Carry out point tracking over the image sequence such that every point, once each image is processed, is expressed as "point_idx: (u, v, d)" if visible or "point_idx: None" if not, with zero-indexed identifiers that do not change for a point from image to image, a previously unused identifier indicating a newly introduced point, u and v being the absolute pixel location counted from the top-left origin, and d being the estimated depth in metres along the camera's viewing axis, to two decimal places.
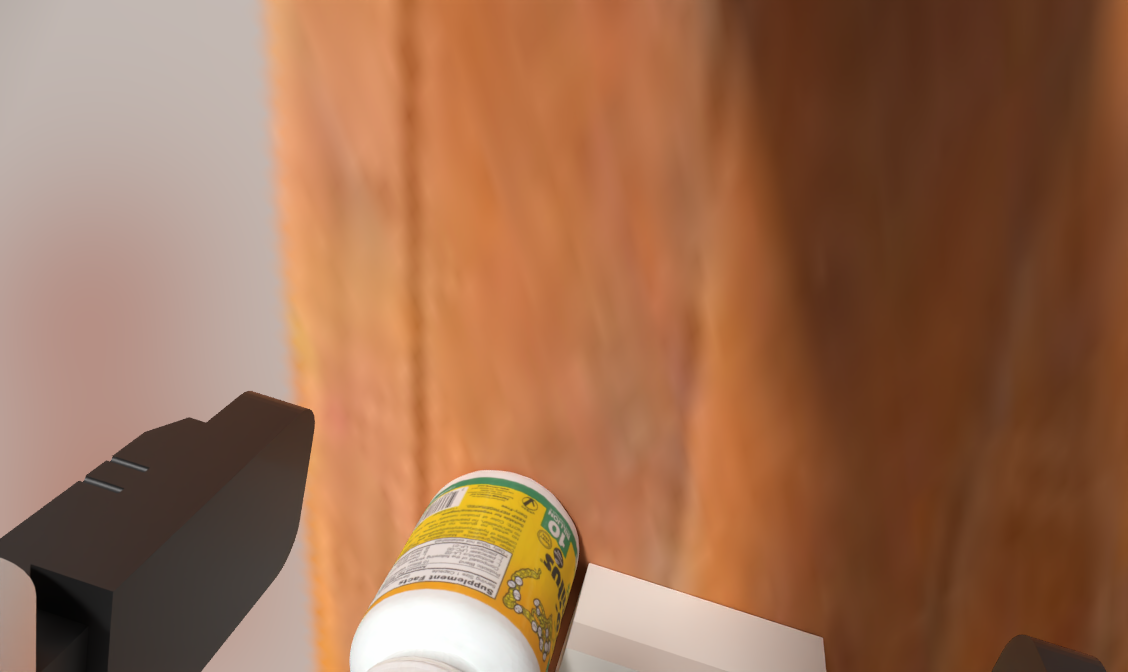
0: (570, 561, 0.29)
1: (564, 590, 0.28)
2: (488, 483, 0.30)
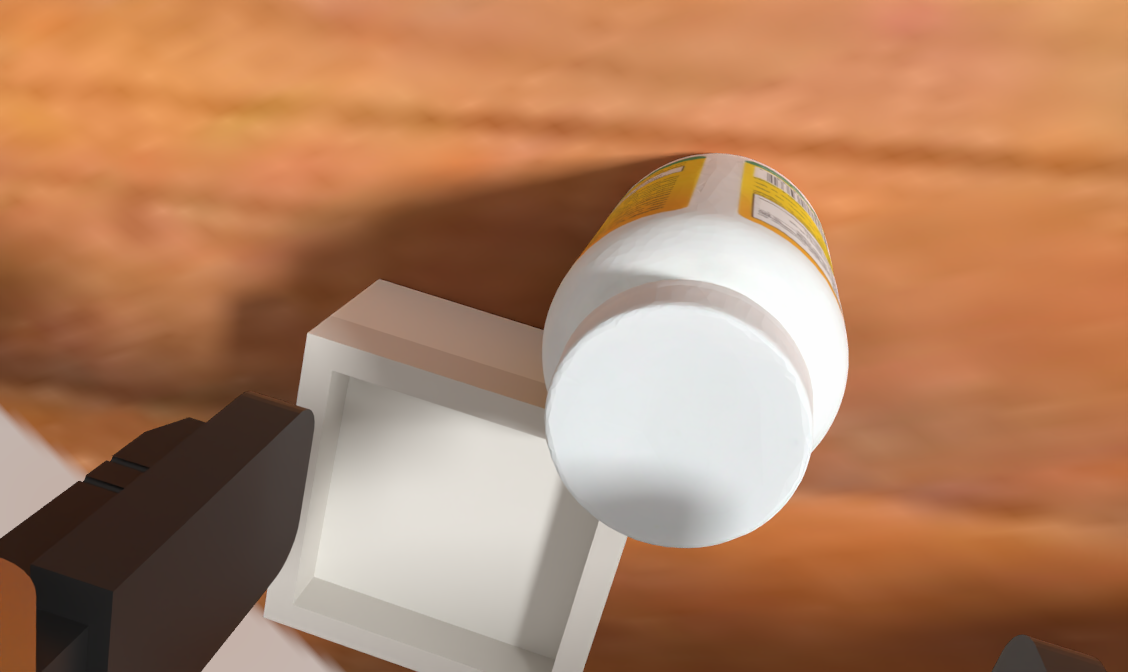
0: None
1: None
2: None
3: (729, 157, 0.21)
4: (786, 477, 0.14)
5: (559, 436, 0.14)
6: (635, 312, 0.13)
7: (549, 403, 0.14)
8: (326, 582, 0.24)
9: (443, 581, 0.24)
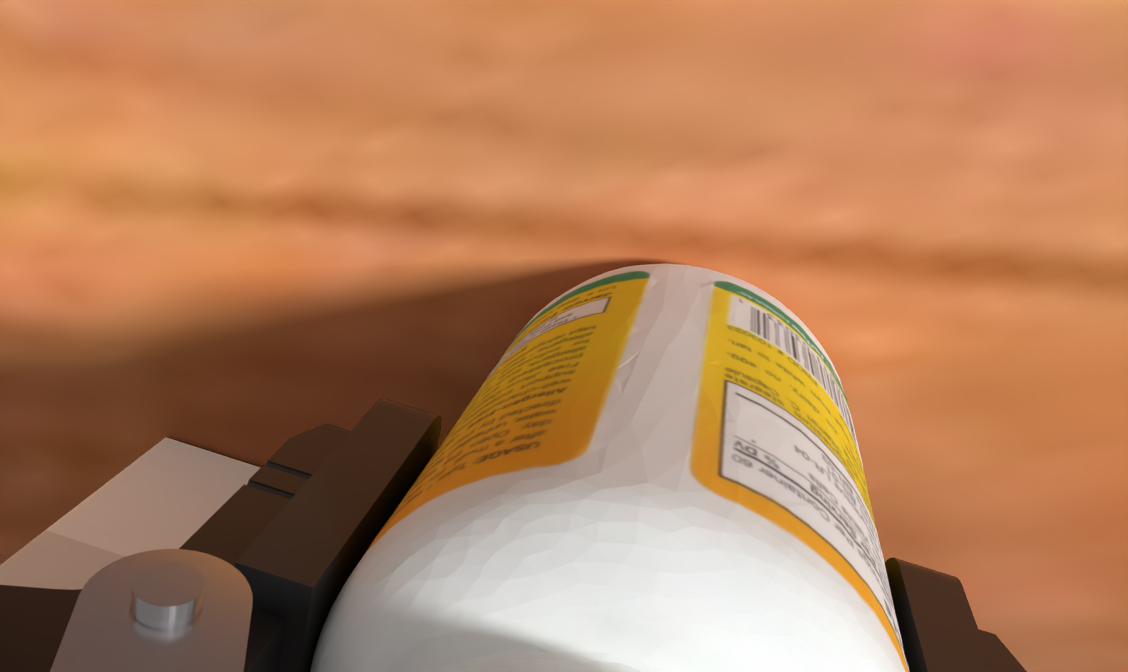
0: None
1: None
2: None
3: (688, 275, 0.13)
4: None
5: None
6: None
7: None
8: None
9: None
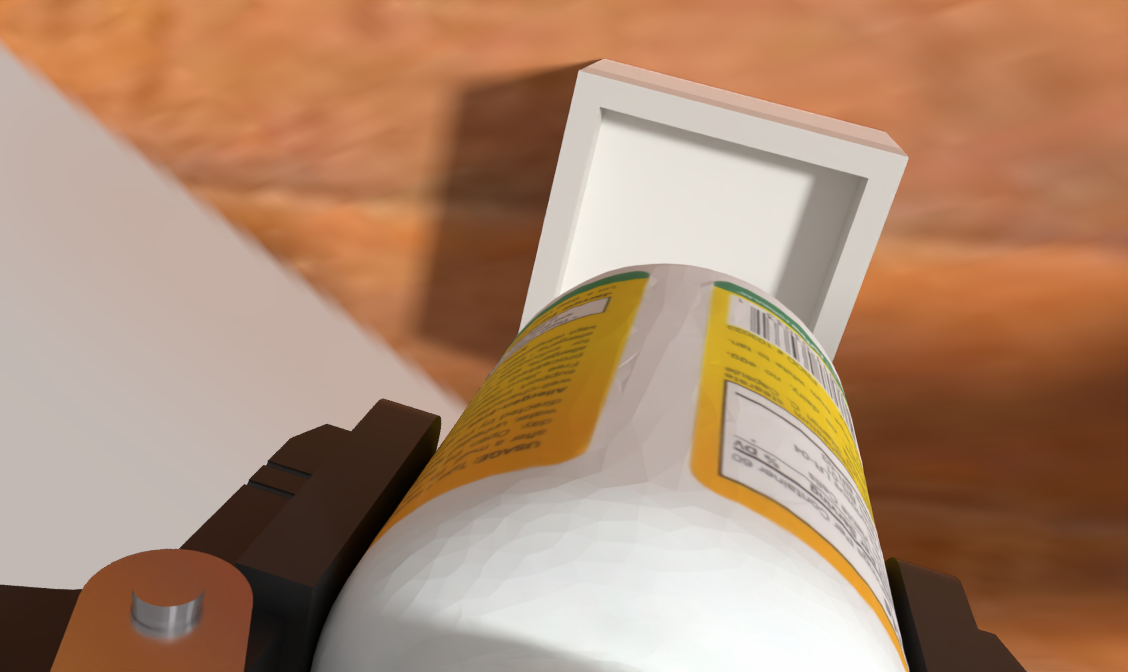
0: None
1: None
2: None
3: (688, 275, 0.13)
4: None
5: None
6: None
7: None
8: None
9: None
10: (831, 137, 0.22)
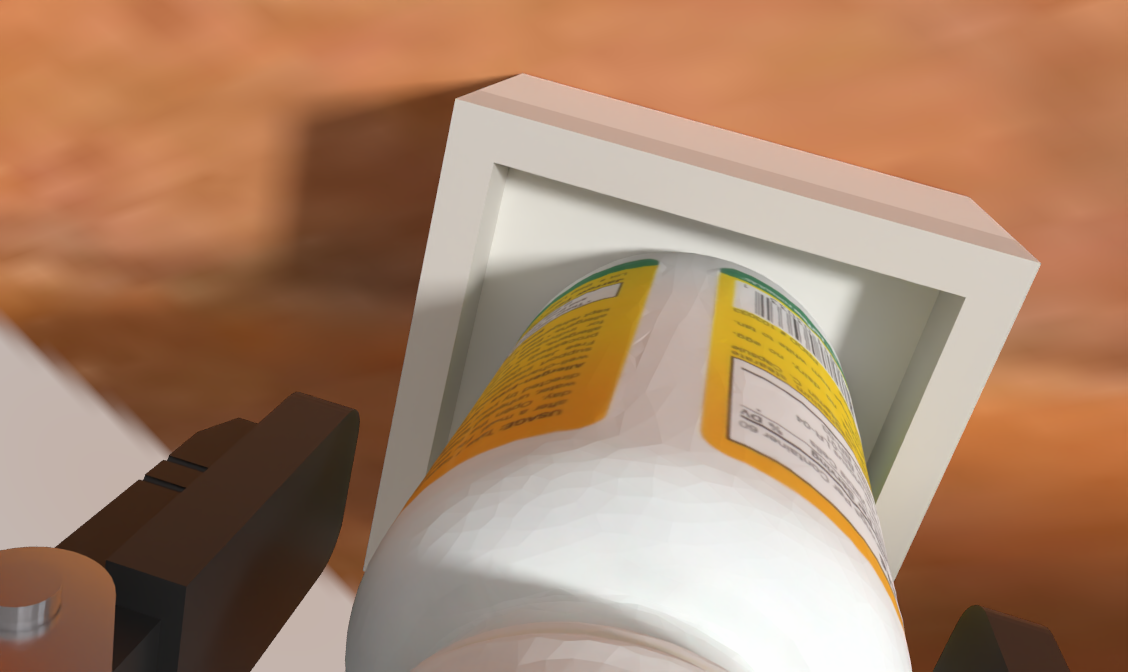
0: None
1: None
2: None
3: (695, 262, 0.13)
4: None
5: None
6: None
7: None
8: None
9: None
10: (901, 224, 0.12)
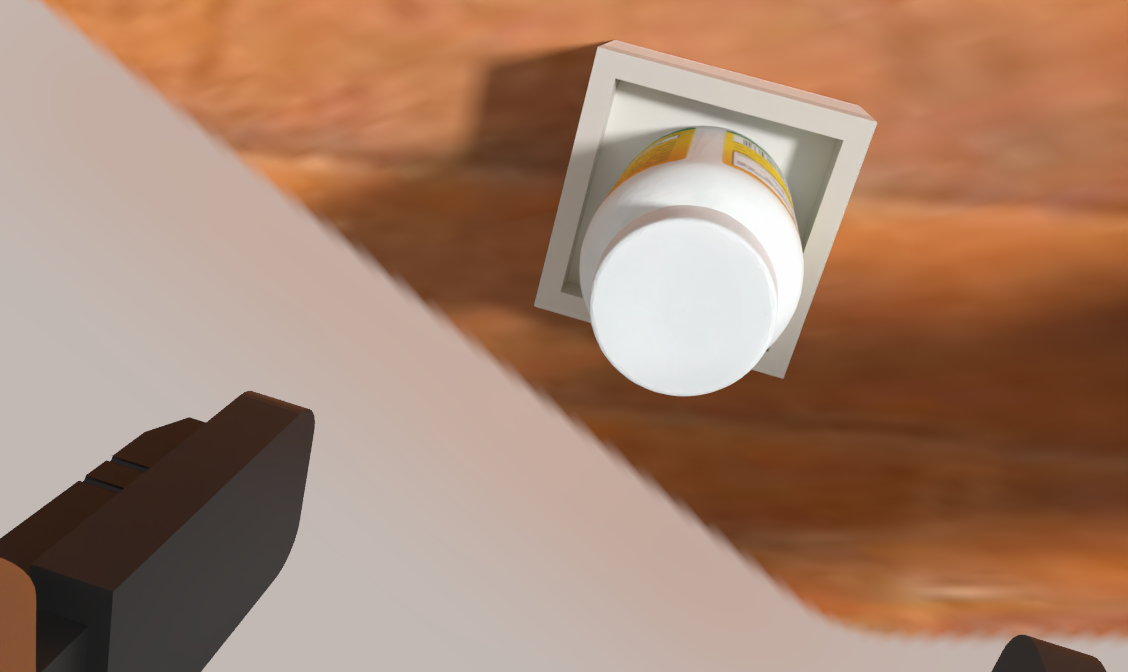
0: None
1: None
2: None
3: (714, 128, 0.27)
4: (759, 340, 0.20)
5: (600, 317, 0.20)
6: (653, 225, 0.19)
7: (593, 293, 0.20)
8: (577, 284, 0.30)
9: None
10: (812, 105, 0.26)
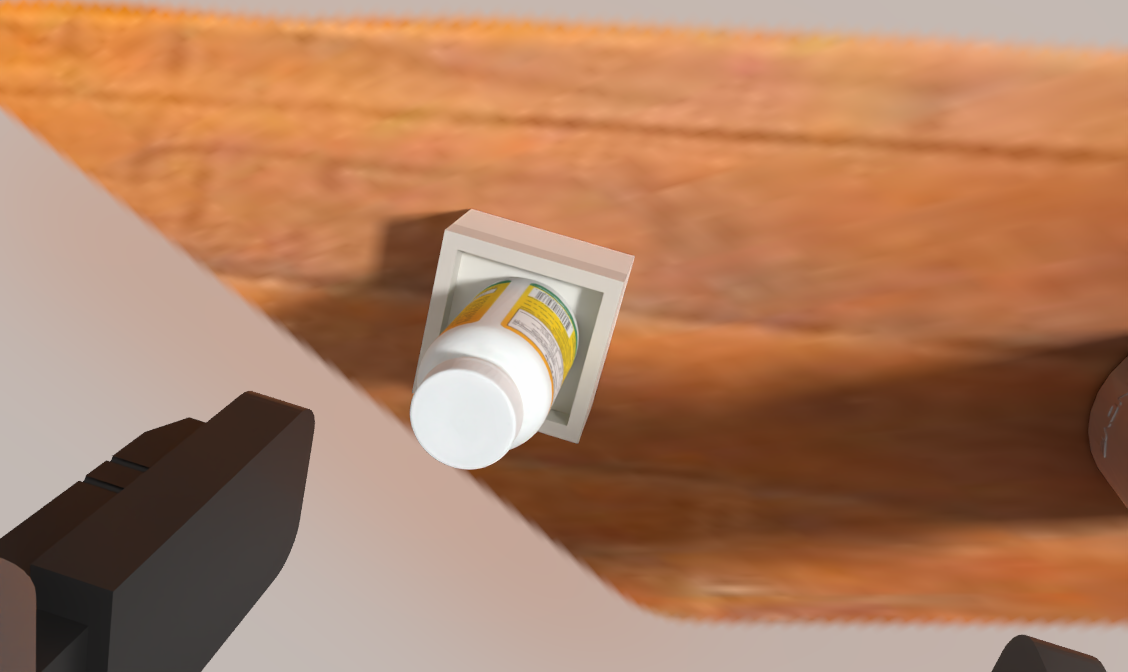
0: None
1: None
2: (576, 341, 0.41)
3: (523, 281, 0.41)
4: (507, 438, 0.34)
5: (416, 423, 0.34)
6: (442, 372, 0.33)
7: (411, 409, 0.34)
8: None
9: None
10: (582, 270, 0.40)
